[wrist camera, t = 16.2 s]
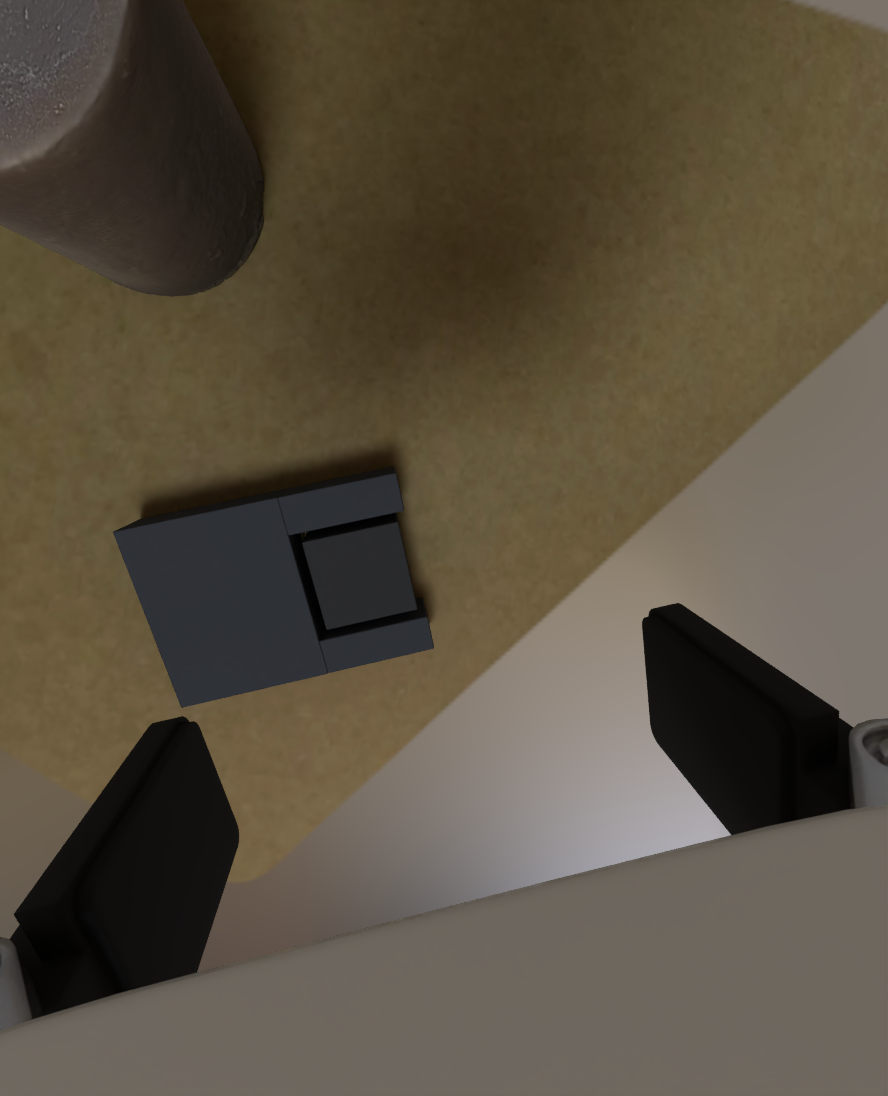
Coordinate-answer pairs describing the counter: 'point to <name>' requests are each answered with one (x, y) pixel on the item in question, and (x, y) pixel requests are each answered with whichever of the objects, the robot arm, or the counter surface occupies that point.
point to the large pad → (258, 589)
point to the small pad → (360, 570)
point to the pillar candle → (124, 144)
